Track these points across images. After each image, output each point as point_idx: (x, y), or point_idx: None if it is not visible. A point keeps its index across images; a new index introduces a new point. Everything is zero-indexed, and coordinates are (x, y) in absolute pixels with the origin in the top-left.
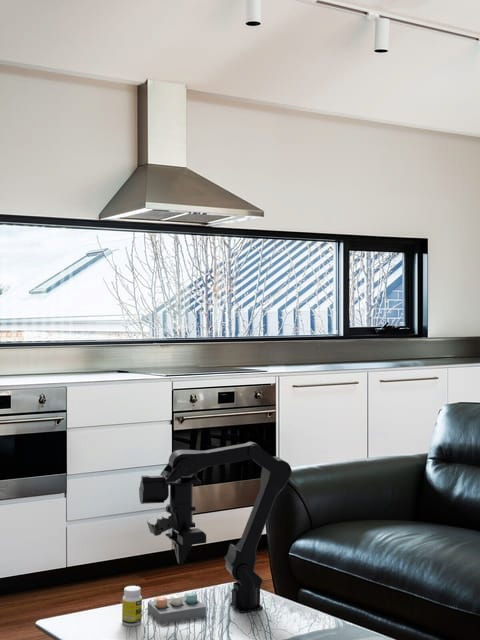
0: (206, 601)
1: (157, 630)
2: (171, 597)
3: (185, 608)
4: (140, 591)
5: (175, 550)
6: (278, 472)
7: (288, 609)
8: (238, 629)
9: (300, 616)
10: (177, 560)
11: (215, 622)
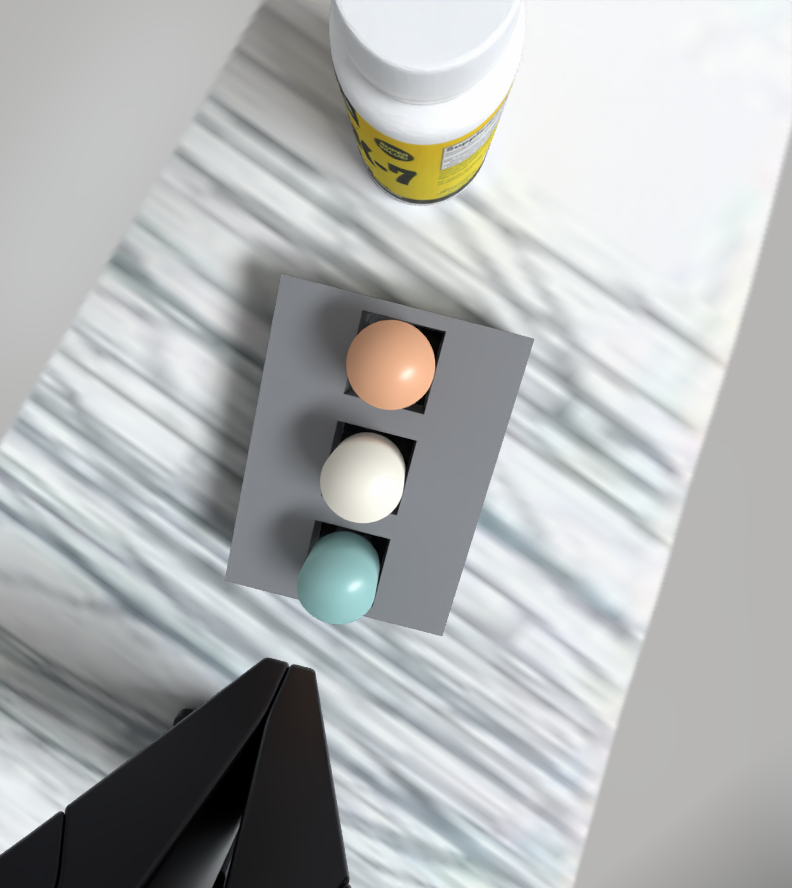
0: (428, 686)
1: (219, 204)
2: (375, 446)
3: (268, 467)
4: (359, 61)
5: (276, 867)
6: None
7: None
8: (7, 566)
9: None
10: (304, 693)
11: (146, 539)
